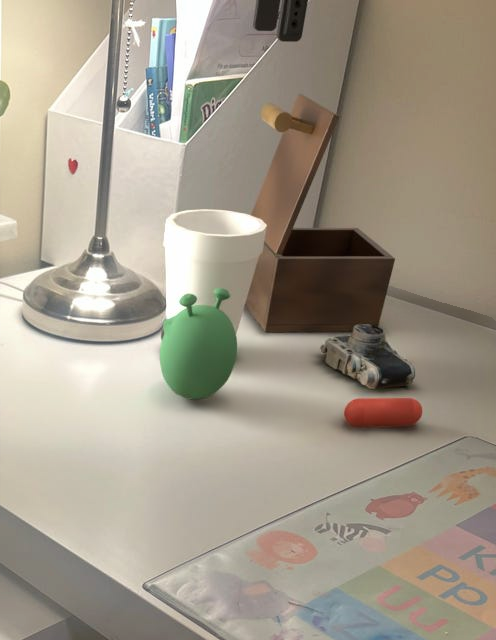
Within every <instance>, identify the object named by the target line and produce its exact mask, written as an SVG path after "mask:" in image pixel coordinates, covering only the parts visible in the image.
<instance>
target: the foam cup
mask: <svg viewBox="0 0 496 640" xmlns="http://www.w3.org/2000/svg"><path fill="white" fill-rule="evenodd" d="M266 228H267V225H266V224H265V223H264V222H263V221H262V220H261V219H259V218H256V217H254V216H251V214H248V213H243V212H238V211H232V210H228V209H227V210H225V209H209V208H203V209H185V210H181V211H178V212H174V213H171V214H170V215H169V216H168V217H167V218H166V219H165V229H164V238H163V247H165V286H166V287H165V288H166V292H165V293H166V319H169V318H171V317H173V316H175V315H177V314H178V313H179V312H180V311H182V310H183V309H185V308H186V307H184V306H182V305H180V303H179V300H180V298H181V297H182V296H183V295H185V294H193V295H195V296H196V297H197V301H196V302H195V303H194V304H193V305H192V306H194V305H208V306H213V307H214V306H215V303H216V300H217V298H216V296H215V295H214V292H213V291H214V290H215V289H218V288H223V289H226V290H227V291H228V292H229V294H230V297H229V298H228V299H225V300H222V302H221V304H220V307H219V310H221V311H223V312H224V313H225V314H226V315H227V316H228V318H229V319H230V320H231V322H232V324H233V327H234V330H235V333H236V334H237V333H238V330H239V326H240V323H241V320H242V317H243V314H244V313H243V312H244V309H245V307H246V305H245V302H246V299H247V296H248V292H249V289H250V285H251V282H252V279H253V275H254V272H255V268H256V265H257V261H258V258H259V256H260V254H261V253H262V251H263V246H264V240H265V234H266Z"/></svg>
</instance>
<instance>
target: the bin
mask: <svg viewBox="0 0 496 640" xmlns="http://www.w3.org/2000/svg"><path fill="white" fill-rule="evenodd" d="M395 261H396V258H395V257H394V256H393V255H392V254H391V253H389V252H388V251H387V250H385V248H383V247H382V246H380V245H379V244H378V243H377V242H376V241H374V240H373V239H372V238H371V237H369V235H367V234H366V233H365V232H364V231H362V230H361V229H360V228H359V227H293V229H292V231H291V234H290V236H289V239H288V241H287V243H286V246H285V248H284V250H283V253H282V255H279V254H276V253H275V252H274V251H273V250H272V249H271V248H270V247H269V246H268V244H267V243H266V242H265V241H264V246H263V251H262V253H261V254H260V256H259V258H258V261H257V265H256V268H255V272H254V275H253V279H252V282H251V285H250V289H249V292H248V296H247V299H246V302H245V307H246V308H247V310H248V311H249V312H250V314H251V315H252V316H253V319H255V321H256V323H258V325H259V326H260V327H261V329H262V330H263V332H264V333H324V332H325V333H332V332H333V333H334V332H335V333H336V332H337V333H339V332H341V333H342V332H344V333H347V332H349V333H351V332H352V333H353V328H354V326H356V325H360V324H369V325H371V326H375V327H379V325H380V323H381V322H380V321H381V317H382V314H383V313H382V312H383V309H384V307H385V306H384V305H385V301H386V297H387V293H388V289H389V285H390V283H391V278H392V273H393V269H394V266H395Z"/></svg>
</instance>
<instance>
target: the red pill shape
mask: <svg viewBox="0 0 496 640" xmlns="http://www.w3.org/2000/svg"><path fill="white" fill-rule="evenodd" d="M422 416H423V407H422V404H421V402H419V400H418V399H416V398H413V397H365V398H364V397H359V398H354V399H352V400H350V401H349V402H348V403H347V404H346V406H345V408H344V410H343V417H344V420H345V421H346V423H347V424H348V425H349V426H350V427H355V428H384V427H388V428H390V427H393V428H394V427H411V426H413V425H415V424H417V423H418V422H419V421H420V420H421V418H422Z"/></svg>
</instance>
